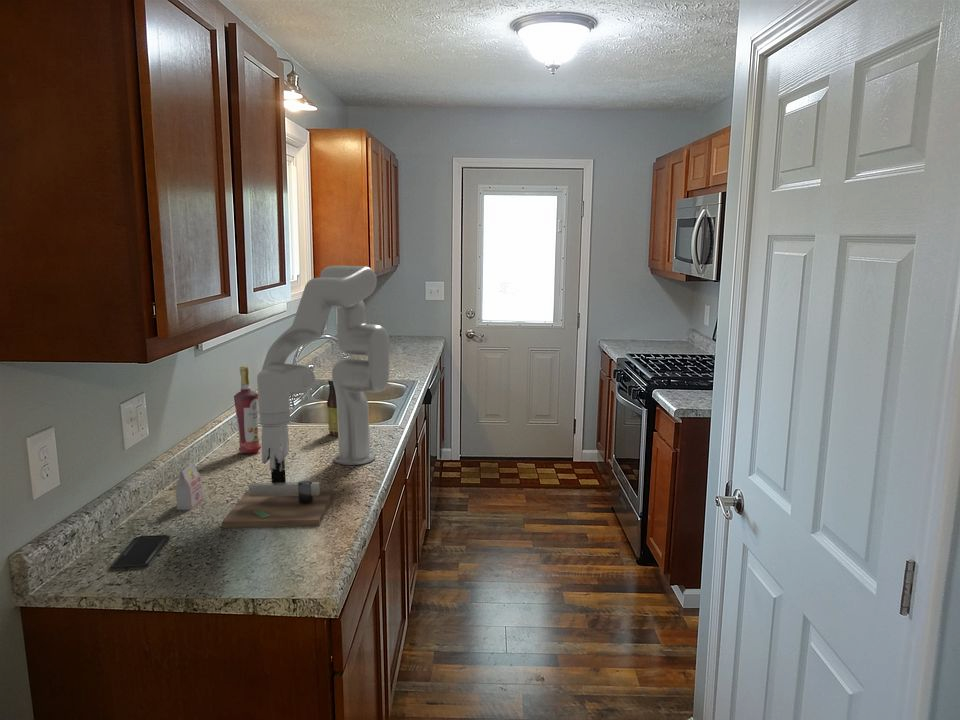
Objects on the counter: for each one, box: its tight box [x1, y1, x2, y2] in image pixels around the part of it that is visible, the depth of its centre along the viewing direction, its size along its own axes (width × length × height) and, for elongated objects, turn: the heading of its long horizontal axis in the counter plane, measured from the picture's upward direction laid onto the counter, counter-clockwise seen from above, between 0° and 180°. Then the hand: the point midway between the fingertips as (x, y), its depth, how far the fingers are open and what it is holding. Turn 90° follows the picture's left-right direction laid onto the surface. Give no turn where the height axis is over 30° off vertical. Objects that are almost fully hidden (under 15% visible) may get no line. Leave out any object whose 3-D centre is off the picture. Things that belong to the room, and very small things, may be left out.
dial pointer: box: [248, 480, 321, 503], centre depth 174 cm, size 18×4×5 cm, turn 92°
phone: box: [109, 534, 171, 571], centre depth 150 cm, size 8×1×15 cm
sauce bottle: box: [326, 378, 338, 437], centre depth 237 cm, size 7×6×20 cm
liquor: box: [233, 365, 262, 455], centre depth 217 cm, size 7×7×28 cm
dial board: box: [221, 487, 335, 529], centre depth 173 cm, size 21×23×2 cm
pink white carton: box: [174, 463, 204, 511], centre depth 176 cm, size 4×7×10 cm, turn 177°
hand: (279, 484), depth 179 cm, fingers closed
